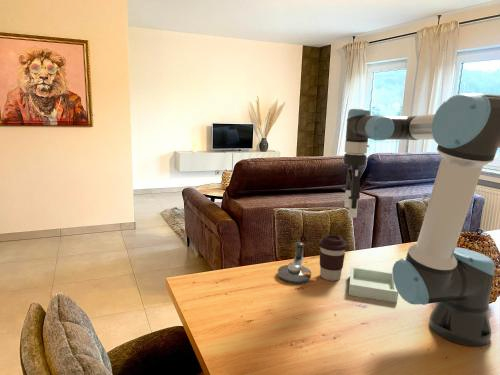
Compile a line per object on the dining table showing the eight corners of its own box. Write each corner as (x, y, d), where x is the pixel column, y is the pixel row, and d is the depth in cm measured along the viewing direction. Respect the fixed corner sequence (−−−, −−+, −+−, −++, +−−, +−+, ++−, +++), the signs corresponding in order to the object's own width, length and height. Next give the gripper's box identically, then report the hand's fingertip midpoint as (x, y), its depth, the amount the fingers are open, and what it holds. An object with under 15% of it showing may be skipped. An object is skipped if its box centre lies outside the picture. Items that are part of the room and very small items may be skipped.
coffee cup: (312, 278, 135) (315, 239, 132) (321, 269, 143) (324, 231, 140) (340, 285, 130) (343, 244, 127) (347, 274, 139) (350, 236, 136)
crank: (300, 274, 133) (301, 255, 131) (286, 272, 134) (287, 253, 132) (305, 260, 145) (307, 243, 144) (293, 258, 146) (294, 241, 145)
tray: (397, 302, 120) (398, 291, 119) (348, 295, 124) (349, 284, 123) (393, 282, 134) (394, 272, 133) (350, 276, 138) (351, 266, 137)
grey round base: (314, 287, 128) (314, 281, 128) (274, 280, 132) (274, 275, 132) (318, 273, 140) (318, 268, 139) (281, 267, 143) (281, 262, 143)
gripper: (372, 158, 119) (366, 222, 123) (361, 150, 143) (356, 204, 147) (348, 157, 120) (342, 221, 124) (341, 149, 144) (336, 202, 148)
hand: (350, 212), depth 136 cm, fingers open, 13 cm apart
